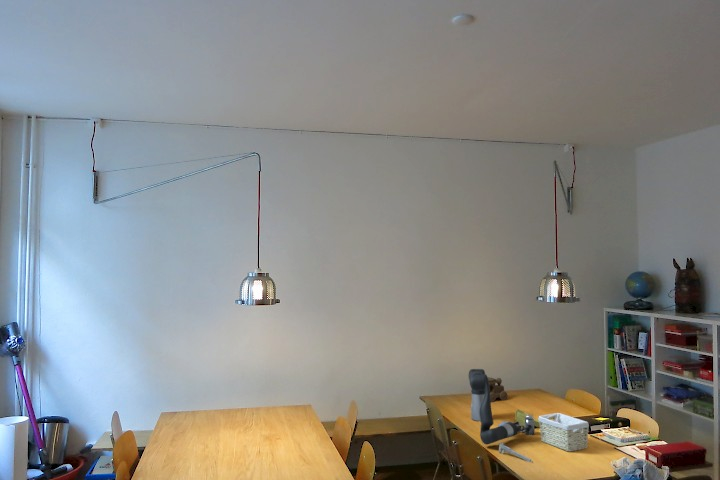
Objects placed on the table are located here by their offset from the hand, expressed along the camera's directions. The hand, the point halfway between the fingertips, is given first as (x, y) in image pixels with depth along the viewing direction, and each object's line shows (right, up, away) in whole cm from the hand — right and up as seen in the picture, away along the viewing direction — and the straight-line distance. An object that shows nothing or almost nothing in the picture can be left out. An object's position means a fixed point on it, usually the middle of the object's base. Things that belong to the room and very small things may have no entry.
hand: (524, 424), depth 320 cm
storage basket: (+17, -5, -19) cm, 26 cm away
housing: (+4, -6, +3) cm, 8 cm away
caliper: (-16, -5, -37) cm, 40 cm away
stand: (-6, -7, +10) cm, 14 cm away
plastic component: (+9, -8, +23) cm, 26 cm away
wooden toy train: (+4, -12, +90) cm, 91 cm away
